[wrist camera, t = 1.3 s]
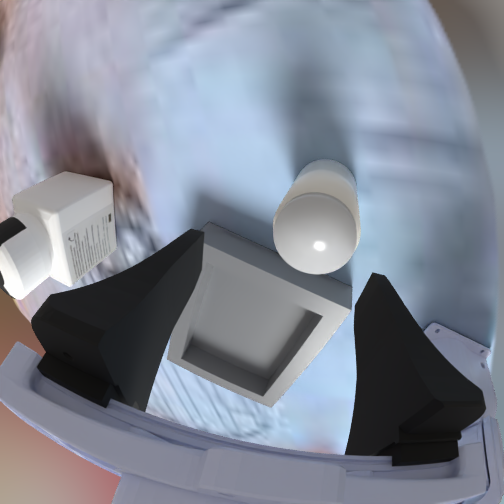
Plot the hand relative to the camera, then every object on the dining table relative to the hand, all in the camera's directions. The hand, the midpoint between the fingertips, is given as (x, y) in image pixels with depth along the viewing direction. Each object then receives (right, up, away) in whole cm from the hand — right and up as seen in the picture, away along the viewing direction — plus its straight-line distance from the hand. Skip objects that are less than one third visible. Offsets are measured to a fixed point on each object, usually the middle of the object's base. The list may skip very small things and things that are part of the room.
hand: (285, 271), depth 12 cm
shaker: (+4, +5, +8) cm, 10 cm away
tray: (-2, -6, +16) cm, 18 cm away
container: (-18, +5, +16) cm, 25 cm away
